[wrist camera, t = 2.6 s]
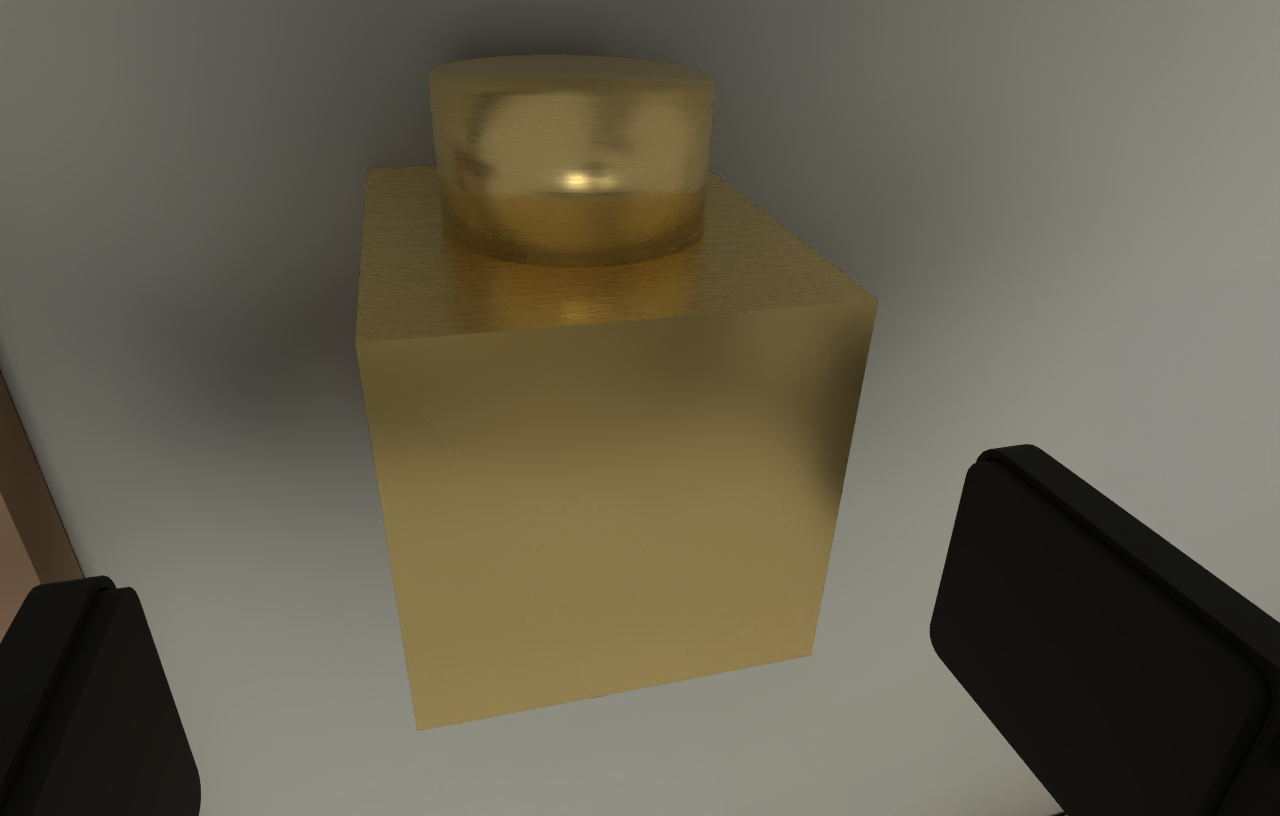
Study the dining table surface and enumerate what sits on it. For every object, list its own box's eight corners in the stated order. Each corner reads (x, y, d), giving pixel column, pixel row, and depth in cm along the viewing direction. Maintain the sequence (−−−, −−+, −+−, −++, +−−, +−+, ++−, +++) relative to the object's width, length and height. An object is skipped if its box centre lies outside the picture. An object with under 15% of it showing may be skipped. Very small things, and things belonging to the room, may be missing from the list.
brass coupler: (350, 41, 11) (322, 139, 6) (699, 41, 12) (910, 123, 7) (416, 529, 15) (431, 820, 10) (671, 494, 17) (795, 741, 12)
